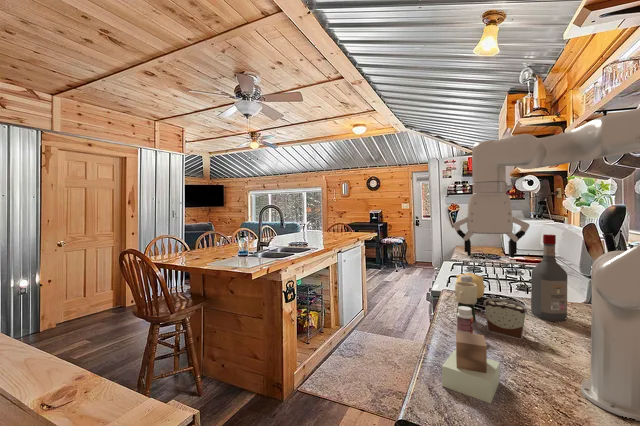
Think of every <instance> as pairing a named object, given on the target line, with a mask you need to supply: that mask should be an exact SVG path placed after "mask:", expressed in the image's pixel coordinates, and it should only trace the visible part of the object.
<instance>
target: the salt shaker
mask: <svg viewBox="0 0 640 426" xmlns="http://www.w3.org/2000/svg"><path fill="white" fill-rule="evenodd" d="M461 281H462V282H470V283H471V282H472V281H473V279H472V277H471V276H469V275H462V276H461ZM473 306H474V307H475V304H473Z"/></svg>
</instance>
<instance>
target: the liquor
mask: <svg viewBox="0 0 640 426" xmlns="http://www.w3.org/2000/svg"><path fill="white" fill-rule="evenodd" d="M556 241H557V240H556V234H543V235H542V243H543V248H542V249H543V250H542V251H543V252H542V253H543V254H542V255H543V257H542V259H541V261H540V262H539V263H538V264H537V265H536V266H534V267H533V268H532V270H531V275H530V276H531V277H530V278H531V279H530V280H531V282H530V283H531V285H530V286H531V289H530V290H531V291H530V292H531V293H530V295H531V296H530V298H531V299H530V300H531V301H530V312H531V314H532V315H533V316H534V317H537V318H538V319H540V320H542V321H543V320H544V321H549V322H565V320H566V319H567V318H568V273H567V271H566V270H565V269H564V268H563V267H562V266H561V265H560V264H559V263H558V262H557V259H556V243H557V242H556Z"/></svg>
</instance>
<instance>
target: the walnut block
mask: <svg viewBox="0 0 640 426" xmlns="http://www.w3.org/2000/svg"><path fill="white" fill-rule="evenodd" d="M455 347H456V348H455V350H456V365H457V368H460V369H465V370H471V371H476V372H482V373H487V359H488V358H487V355H488V354H487V353H488V352H487V350H488V349H487V348H488V347H487V342H486V339H485V335H483V334H476V333H473V334H470V333H463V332H457V331H456V332H455Z"/></svg>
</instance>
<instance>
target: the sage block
mask: <svg viewBox="0 0 640 426" xmlns="http://www.w3.org/2000/svg"><path fill="white" fill-rule="evenodd" d="M500 365H501V362H500V361H496V360H493V359H489V358H487V373H482V372H476V371H471V370H465V369H460V368H457V365H456V349H454V350H453V351H452V353H450V355H449V357H448V358H447V359H446V360H445V361H444V363H443V364H442V365H441V387H444V388H447V389H449V390H452V391H455V392H458V393H460V394H463V395H466V396H469V397H471V398H475V399H478V400H479V401H483V402H486V403H488V404H492V402H493V399H494V397H495V394H496V392H497V390H498V387H499V386H500V381H501V379H500V378H501V375H500V373H501V368H500V367H501V366H500Z"/></svg>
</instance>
